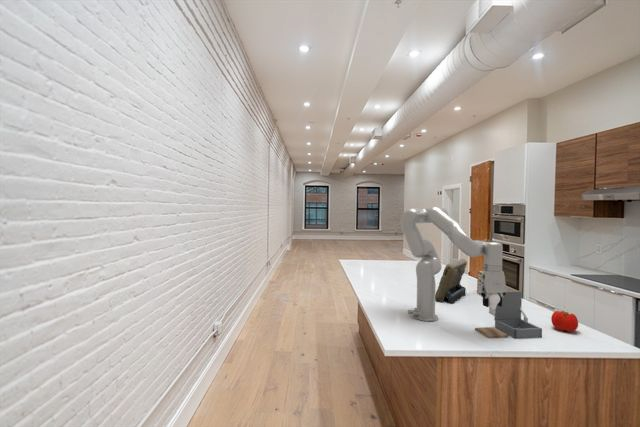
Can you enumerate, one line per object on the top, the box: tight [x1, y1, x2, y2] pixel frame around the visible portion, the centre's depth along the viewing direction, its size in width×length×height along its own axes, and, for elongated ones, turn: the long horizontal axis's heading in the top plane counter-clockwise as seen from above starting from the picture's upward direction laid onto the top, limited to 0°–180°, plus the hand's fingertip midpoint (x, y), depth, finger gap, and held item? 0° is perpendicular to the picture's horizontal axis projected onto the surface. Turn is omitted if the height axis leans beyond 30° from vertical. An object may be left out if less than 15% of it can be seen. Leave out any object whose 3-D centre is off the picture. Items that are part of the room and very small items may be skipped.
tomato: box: [550, 310, 579, 333], centre depth 155 cm, size 11×11×9 cm
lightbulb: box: [488, 293, 500, 316], centre depth 148 cm, size 6×6×11 cm
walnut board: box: [474, 326, 509, 339], centre depth 149 cm, size 10×10×1 cm
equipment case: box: [494, 290, 543, 339], centre depth 151 cm, size 14×14×18 cm
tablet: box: [435, 258, 468, 304], centre depth 210 cm, size 33×14×25 cm, turn 145°
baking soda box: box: [476, 270, 486, 296], centre depth 217 cm, size 10×6×16 cm
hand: (492, 305), depth 148 cm, fingers closed on lightbulb, 6 cm apart
